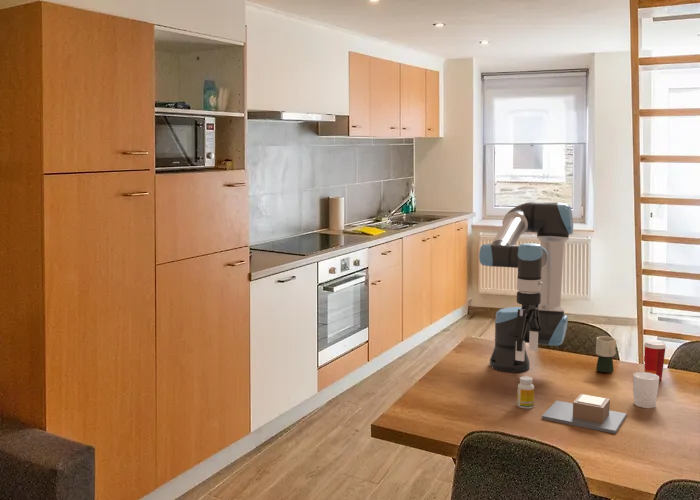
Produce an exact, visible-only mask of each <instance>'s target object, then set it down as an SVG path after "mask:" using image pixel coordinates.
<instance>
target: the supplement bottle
mask: <svg viewBox="0 0 700 500" xmlns="http://www.w3.org/2000/svg"><path fill="white" fill-rule="evenodd" d="M519 382H520V383H518V385H517V391H516V392H517V393H516V394H517V396H516V406H517V407H519V408H521V409H527V410H529V409H533V408H534V405H535V385H534V384H533V378H532V377H531V376H527V375H525V376H523V375H522V376H520V378H519Z"/></svg>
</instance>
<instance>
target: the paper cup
mask: <svg viewBox="0 0 700 500" xmlns="http://www.w3.org/2000/svg"><path fill="white" fill-rule="evenodd" d="M643 347H644V372H648V373H653V374H656V375H658V376H659V382H661V381H662V378H663V371H664V364H665V355H666V348H667V345H666V343H665V342H664V341H661V340H657V339H655V340H654V339H648V340H645V342H644V343H643Z"/></svg>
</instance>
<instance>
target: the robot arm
mask: <svg viewBox="0 0 700 500" xmlns="http://www.w3.org/2000/svg"><path fill="white" fill-rule="evenodd" d="M525 233H535V234H536V238H537V240H538V241H540V244H539V243H535V242H534V243H533V242H524V243H521V244H519V245H517V242H518V241H519V239H520V237H521V235H523V234H525ZM573 233H574V218H573V211H572V207H571V205H570V204H568V203H564V202H534V201H533V202H531V201H530V202H525V203H522V204H519V205H516V206H515V207H514V208H511V209H510V210H508V212H506V214H505V215H504V217H503V218H502V225H501V227H500V229H499V230H498V233H497V234H496V236H495V237H494V239H493V240H492V243H484V244H482V245H481V246H480V249H479V254H478V256H479V257H478V259H479V263H480V265H482V266H484V267H491V268H492V267H493V268H496V267H497V268H516V269H517V278H516V290H517V292H516V303H517V304H519V305H521V306H509V307H504V308H501V309H498V310H497V311H496V313H495V321H494V324H495V325H494V326H495V327H494V348H493V351H492V353H491V356H490V359H489V366H491V367H490V368H492V367H493V368H494V370H496V369H497V371H499V370H501V371H500V372H504V371H505V372H506V373H522V372H527V371H529V369H530V359H529V356H528V353H527V352H528V351H530V352H531V351H533V352H538V350H539V345H543V346H544V345H546V346H549V347H550V346H561V345H562V344H563V343H564V340H565V338H566V333H567V329H568V321H569V316H567V315H566V314H565V310H564V309H563V307H562V306H561V300H562V299H561V298H562V283H563V282H562V281H563V264H564V251H565V249H564V248H565V243H566V242H567V241H568V240H569V238H570V236H569V235H572V234H573ZM526 343H527V344H528V345H529V346H528V347H529V348H528V351H527V350H526V349H527V348H526ZM493 368H492V369H493ZM505 372H504V373H505Z"/></svg>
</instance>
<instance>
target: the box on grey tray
mask: <svg viewBox="0 0 700 500" xmlns="http://www.w3.org/2000/svg"><path fill="white" fill-rule="evenodd" d="M610 402H611V399H610V398H606V397H602V396H594V395H589V394H584V393H580V394H579V395H578V396H577V397H576V398H575V399H574V400H573V402H567V401H563V400H555V402H554V403H552V405H551V406H550V407H549V408H548V409H547V410H546V411H545V412H544V413H543V414H542V416H541V419H542V420H546V421H551V422H554V423H555V422H556V423H561V424H565V425H568V426H569V425H570V426H575V427H579V428H580V427H581V428H585V429H588V430H589V429H590V430H595V431H599V432H604V433H605V432H606V433H609V434H617V432H618V431H619V430H620V427H621V426H622V424H623V423H624V421H625V419H626V418H627V412H619V411H615V410H611V409H610V407H611V406H610V405H611V403H610Z"/></svg>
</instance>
